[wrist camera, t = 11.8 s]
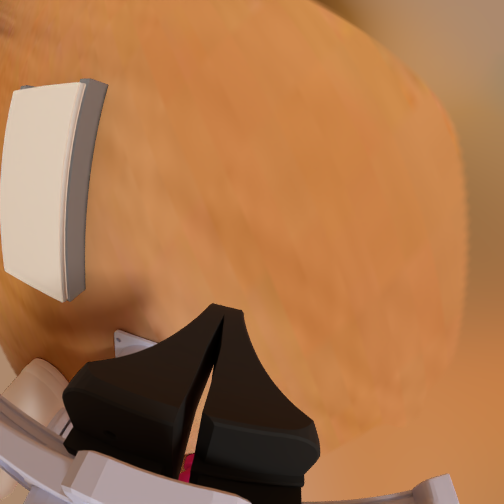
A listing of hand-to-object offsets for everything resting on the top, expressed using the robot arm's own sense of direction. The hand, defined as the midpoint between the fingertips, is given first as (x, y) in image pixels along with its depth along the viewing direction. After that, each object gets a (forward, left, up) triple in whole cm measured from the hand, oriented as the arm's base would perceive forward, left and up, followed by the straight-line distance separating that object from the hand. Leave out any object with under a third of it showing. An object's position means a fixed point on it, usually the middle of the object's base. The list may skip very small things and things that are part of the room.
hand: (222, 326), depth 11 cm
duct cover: (+2, +18, -7) cm, 19 cm away
